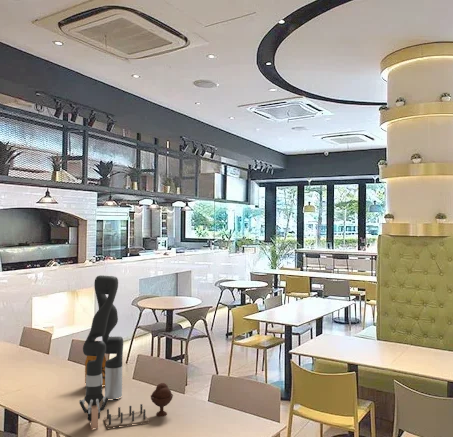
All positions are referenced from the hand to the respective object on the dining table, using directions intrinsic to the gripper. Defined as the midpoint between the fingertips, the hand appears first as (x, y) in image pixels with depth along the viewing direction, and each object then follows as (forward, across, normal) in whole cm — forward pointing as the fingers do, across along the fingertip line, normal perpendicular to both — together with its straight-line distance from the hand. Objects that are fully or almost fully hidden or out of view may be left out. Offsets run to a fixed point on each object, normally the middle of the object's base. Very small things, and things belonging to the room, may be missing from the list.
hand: (93, 420), depth 216 cm
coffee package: (+3, -7, -56) cm, 56 cm away
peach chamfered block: (+2, 0, 0) cm, 2 cm away
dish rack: (+2, -15, +1) cm, 15 cm away
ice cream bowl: (+3, -33, -1) cm, 33 cm away
